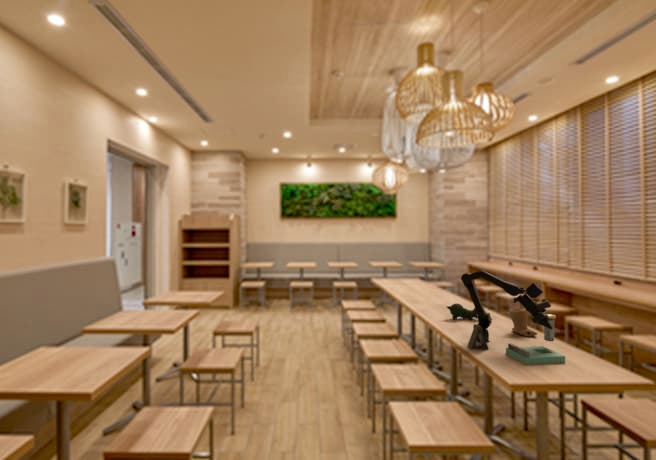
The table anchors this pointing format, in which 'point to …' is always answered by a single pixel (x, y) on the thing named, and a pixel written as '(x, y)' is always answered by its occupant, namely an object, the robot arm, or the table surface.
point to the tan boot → (521, 322)
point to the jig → (534, 354)
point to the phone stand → (473, 339)
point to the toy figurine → (462, 311)
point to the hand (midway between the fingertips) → (552, 327)
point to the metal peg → (548, 332)
